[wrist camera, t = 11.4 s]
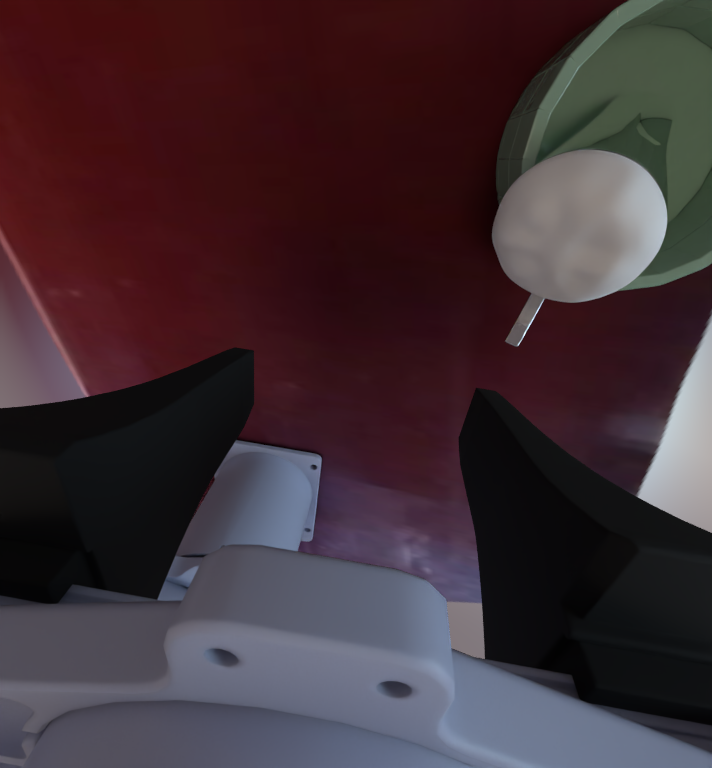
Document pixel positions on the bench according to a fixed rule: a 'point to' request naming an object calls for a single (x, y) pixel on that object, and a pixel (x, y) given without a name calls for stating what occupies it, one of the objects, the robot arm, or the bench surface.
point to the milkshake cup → (590, 207)
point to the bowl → (627, 76)
